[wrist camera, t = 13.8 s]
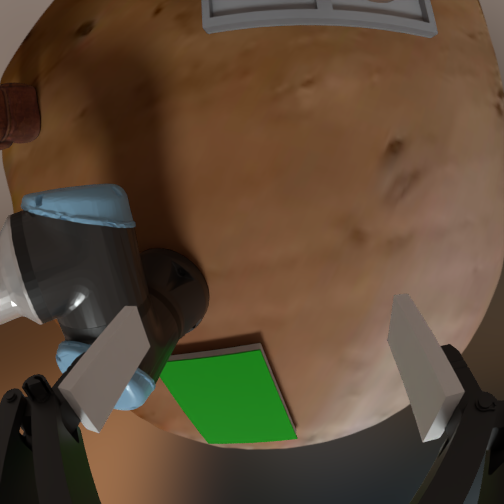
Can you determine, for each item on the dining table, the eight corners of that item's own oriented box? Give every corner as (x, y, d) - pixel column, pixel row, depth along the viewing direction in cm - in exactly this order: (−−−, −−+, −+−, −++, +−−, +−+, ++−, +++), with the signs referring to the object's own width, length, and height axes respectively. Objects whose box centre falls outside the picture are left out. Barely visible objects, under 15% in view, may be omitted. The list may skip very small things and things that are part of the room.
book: (262, 339, 50) (260, 350, 47) (297, 428, 59) (297, 438, 56) (154, 353, 55) (149, 363, 52) (209, 434, 64) (206, 443, 61)
